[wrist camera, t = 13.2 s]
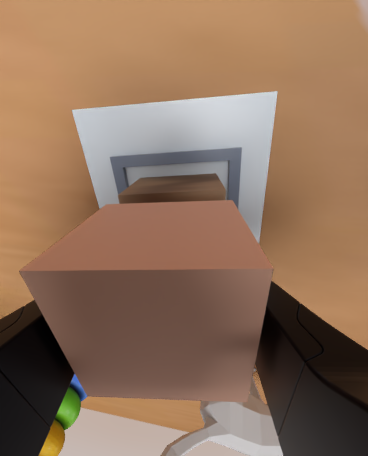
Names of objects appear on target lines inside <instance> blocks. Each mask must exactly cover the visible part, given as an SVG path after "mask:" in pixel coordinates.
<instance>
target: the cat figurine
mask: <svg viewBox="0 0 368 456" xmlns="http://www.w3.org/2000/svg"><path fill="white" fill-rule="evenodd" d="M255 371H256V368H254V372H255ZM200 413H201V415H202V418H203V421H204V423H205V425H204V428H201V429H198V430H196V431H193V432H190V433H188V434H185V435H183V436H181V437H180V438H178V439H177V440H175V441H174V442H172V443H171V444H169V445H167V447H166V448H165V450H164V451H163V453H162V455H161V456H184V455H186V454H187V453H188V452H189V451H190V450H191V449H193V448H195V447H197V446H198V445H200V444H202V443H203V442H205V441H207V440H208V441H212V442H215V443H218V444H221V445H224V446H226V447H229V448H231V449H233V450H236V451H238V452H240V453H243V454H245V455H249V456H282V455H283V453H282V450H281V447H280V443H279V440H278V436H277V433H276V430H275V427H274V423H273V420H272V417H271V413H270V410H269V407H268V404H264V402H263V401H262V399H261V398H260V395H259V392H258V389H257V387H256V384H255V381H254V379H253V376H252V382H251V387H250V394H249V397H248V402H222V401H201V406H200Z"/></svg>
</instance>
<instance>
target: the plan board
mask: <svg viewBox="0 0 368 456" xmlns="http://www.w3.org/2000/svg"><path fill="white" fill-rule="evenodd" d="M277 92H278V91H274V92H263V93H252V94H241V95H230V96H219V97H208V98H197V99H186V100H176V101H165V102H154V103H143V104H132V105H121V106H110V107H99V108H88V109H77V110H72V112H73V116H74V119H75V123H76V127H77V130H78V134H79V137H80V141H81V144H82V148H83V152H84V155H85V159H86V162H87V166H88V169H89V173H90V177H91V180H92V184H93V187H94V191H95V194H96V198H97V201H98V205H99V209H101V208H102V207H103V206H105V205H106V204H119V199H118V195H119V194H120V193H121V192H122V191H124V190H125V189H126V188H128V187H129V186H130V185H132V184H133V183H134V182H136V181H137V180H138V179H139V178H145V177H162V176H179V175H196V174H213V173H216V174H217V176H218V177H219V179H220V181H221V182H222V184H223V186H224V187H225V189H226V200H233V202H234V203H235V205H236V207H237V208H238V210H239V212H240V214H241V215H242V217H243V219H244V220H245V222H246V224H247V225H248V227H249V229H250V230H251V232H252V234H253V235H254V237H255V239H256V240H257V242H258V244H259V239H260V231H261V223H262V215H263V207H264V198H265V190H266V182H267V174H268V166H269V157H270V149H271V141H272V133H273V125H274V116H275V108H276V100H277Z"/></svg>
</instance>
